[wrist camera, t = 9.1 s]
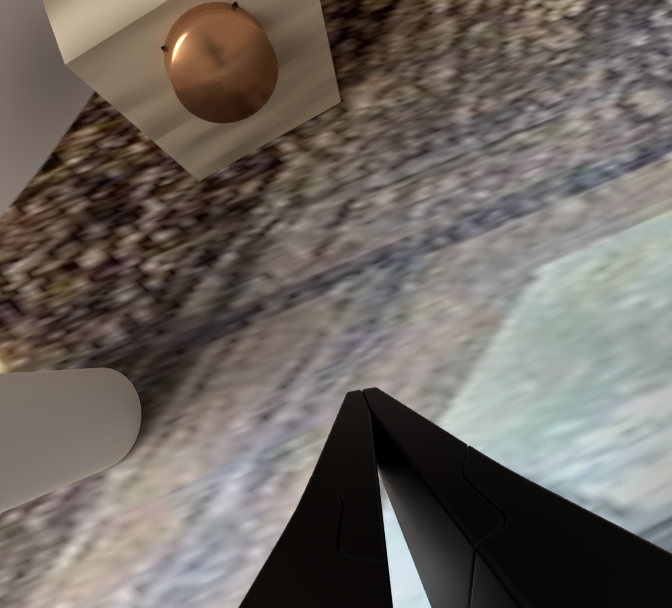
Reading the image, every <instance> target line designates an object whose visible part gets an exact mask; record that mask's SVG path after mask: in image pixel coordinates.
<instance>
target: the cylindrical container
mask: <svg viewBox="0 0 672 608" xmlns="http://www.w3.org/2000/svg"><path fill="white" fill-rule="evenodd" d="M140 425H141V405H140V399H139V397H138V394H137V391H136V389H135V388H134V386H133V384H132V383H131V382H130V381H129V380H128V378H127V377H125V376H124V375H123V374H121V373H120V372H118V371H116V370H113V369H110V368H104V367H103V368H86V369H70V370H53V371H37V372H21V373H4V374H0V513H2V512H4V511H7V510H9V509H11V508H14V507H16V506H19V505H21V504H23V503H26V502H28V501H31V500H33V499H35V498H38V497H40V496H42V495H45V494H47V493H50V492H52V491H54V490H57V489H59V488H62V487H64V486H66V485H69V484H71V483H74V482H76V481H78V480H81V479H83V478H85V477H88V476H90V475H93V474H95V473H97V472H100V471H102V470H105V469H107V468H109V467H111V466H113V465H115V464H117V463H118V462H119V461H121V460H122V459H123V458H124V457H125V456H126V455H127V454H128V453H129V451H130V450H131V448H132V447H133V445H134V443H135V442H136V439H137V436H138V434H139V430H140Z"/></svg>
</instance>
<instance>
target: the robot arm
mask: <svg viewBox="0 0 672 608" xmlns="http://www.w3.org/2000/svg"><path fill="white" fill-rule="evenodd" d="M378 471H379V474H380V476H381V479H382V481H383V484H384V487H385V489H386V492H387V494H388V497H389V499H390V502H391V505H392V507H393V510H394V512H395V515H396V517H397V520H398V523H399V525H400V528H401V530H402V533H403V535H404V538H405V541H406V543H407V546H408V548H409V551H410V553H411V556H412V559H413V561H414V564H415V566H416V569H417V572H418V574H419V577H420V579H421V582H422V584H423V587H424V590H425V592H426V595H427V597H428V600H429V602H430V605H431V608H672V553H670V552H668V551H666V550H664V549H662V548H660V547H658V546H656V545H654V544H652V543H651V542H649V541H647V540H645V539H643V538H641V537H639V536H637V535H635V534H633V533H631V532H629V531H627V530H625V529H623V528H621V527H619V526H617V525H616V524H614V523H612V522H610V521H608V520H606V519H604V518H602V517H600V516H598V515H596V514H594V513H592V512H590V511H588V510H586V509H584V508H583V507H581V506H579V505H577V504H575V503H573V502H571V501H569V500H567V499H565V498H563V497H561V496H559V495H557V494H555V493H553V492H551V491H550V490H548V489H546V488H544V487H542V486H540V485H538V484H536V483H534V482H532V481H530V480H528V479H526V478H525V477H523V476H521V475H519V474H517V473H515V472H513V471H512V470H510V469H508V468H506V467H504V466H503V465H501V464H499V463H498V462H496V461H494V460H493V459H491V458H489V457H487V456H486V455H484V454H482V453H481V452H479V451H478V450H476V449H475V448H473V447H471V446H468V445H467V444H466V443H464V442H462V441H461V440H459V439H458V438H456V437H455V436H453V435H451V434H450V433H448V432H447V431H445V430H443V429H442V428H440V427H439V426H437V425H435V424H434V423H432V422H431V421H429V420H428V419H426V418H424V417H423V416H421V415H420V414H418V413H416V412H415V411H413V410H412V409H410V408H408V407H407V406H405V405H404V404H402V403H401V402H399V401H397V400H396V399H394V398H393V397H391V396H389V395H388V394H386V393H385V392H383V391H381V390H380V389H378V388H376V387H373V388H368V389H363V391H361V390H356V391H350V392H348V393H347V394H346V396H345V398H344V401H343V403H342V406H341V408H340V410H339V413H338V415H337V417H336V420H335V422H334V424H333V427H332V429H331V431H330V434H329V436H328V438H327V441H326V443H325V445H324V448H323V450H322V452H321V455H320V457H319V460H318V462H317V464H316V467H315V469H314V471H313V474H312V476H311V477H310V480H309V482H308V484H307V487H306V489H305V491H304V493H303V495H302V497H301V500H300V502H299V504H298V506H297V508H296V510H295V512H294V514H293V515H292V517H291V519H290V521H289V523H288V524H287V526H286V528H285V530H284V532H283V533H282V535H281V537H280V538H279V540H278V542H277V543H276V545H275V547H274V548H273V550H272V552H271V554H270V555H269V557H268V559H267V560H266V562H265V564H264V565H263V567H262V569H261V570H260V572H259V574H258V576H257V577H256V579H255V581H254V582H253V584H252V586H251V587H250V589H249V591H248V592H247V594H246V596H245V598H244V599H243V601H242V603H241V604H240V606H239V608H393V603H392V594H391V585H390V576H389V567H388V558H387V549H386V540H385V531H384V522H383V513H382V504H381V495H380V486H379V477H378Z"/></svg>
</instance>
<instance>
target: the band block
mask: <svg viewBox="0 0 672 608" xmlns="http://www.w3.org/2000/svg"><path fill="white" fill-rule="evenodd" d="M209 2H225V3H230V4H233V5H236V6H239V7H241V8H243V9H244V10H246V11H247V12H249V13H250V14H251V15H252V16H254V17H255V18H256V20H257V21H258V22H259V23H260V25H261V26H262V28H263V29H264V31H265V33H266V35H267V37H268V39H269V41H270V43H271V45H272V47H273V49H274V51H275V53H276V56H277V61H278V79H277V84H276V87H275V90H274V92H273V94H272V96H271V97H270V99H269V100H268V102H267V103H266V104H265V105H264V106H263V107H262V108H261V109H260V110H259V111H258V112H256V113H255V114H253V115H252V116H250V117H248V118H246V119H244V120H241V121H238V122H234V123H224V124H221V123H212V122H208V121H205V120H202V119H200V118H198V117H196V116H195V115H193V114H192V113H190V112H189V111H188V110H187V109H186V108H185V107H184V106H183V105H182V103H181V102H180V101H179V99H178V97H177V95H176V93H175V91H174V88H173V86H172V84H171V81H170V79H169V77H168V74H167V72H166V68H165V64H164V46H165V41H166V38H167V35H168V33H169V31H170V29H171V27H172V26H173V24H174V23H175V22H176V20H177V19H178V18H179V17H180V16H181V15H182V14H184V13H185V12H186V11H188V10H189V9H191V8H193V7H195V6H197V5H200V4H203V3H209ZM43 3H44V6H45V9H46V12H47V15H48V17H49V20H50V23H51V26H52V29H53V31H54V34H55V37H56V40H57V43H58V46H59V49H60V52H61V54H62V57H63V60H64V63H65V65H66V66H67V67H69V68H70V69H71V70H72V71H73V72H74V73H75V74H77V75H78V76H79V77H80V78H81V79H82V80H84V81H85V82H86V83H87V84H88V85H89V86H90V87H92V88H93V89H94V90H95V91H96V92H97V93H98V94H100V95H101V96H102V97H103V98H104V99H105V100H106V101H108V102H109V103H110V104H111V105H112V106H113V107H115V108H116V109H117V110H118V111H119V112H120V113H121V114H123V115H124V116H125V117H126V118H127V119H128V120H129V121H131V122H132V123H133V124H134V125H135V126H136V127H138V128H139V129H140V130H141V131H142V132H143V133H144V134H146V135H147V136H148V137H149V138H150V139H151V140H152V141H154V142H155V143H156V144H157V145H158V146H159V147H160V148H162V149H163V150H164V151H165V152H166V153H167V154H169V155H170V156H171V157H172V158H173V159H174V160H175V161H177V162H178V163H179V164H180V165H181V166H182V167H183V168H185V169H186V170H187V171H188V172H189V173H190V174H192V175H193V176H194V177H195V178H196V179H197V180H198V181H201V180H203V179H204V178H206V177H208V176H210V175H212V174H213V173H215V172H217V171H219V170H221V169H222V168H224V167H226V166H228V165H229V164H231V163H233V162H235V161H237V160H238V159H240V158H242V157H244V156H246V155H247V154H249V153H251V152H253V151H255V150H256V149H258V148H260V147H262V146H263V145H265V144H267V143H269V142H271V141H272V140H274V139H276V138H278V137H280V136H281V135H283V134H285V133H287V132H289V131H290V130H292V129H294V128H296V127H297V126H299V125H301V124H303V123H305V122H306V121H308V120H310V119H312V118H314V117H315V116H317V115H319V114H321V113H322V112H324V111H326V110H328V109H330V108H331V107H333V106H335V105H337V104H339V103H340V102H341V100H340V95H339V90H338V86H337V81H336V76H335V71H334V66H333V62H332V57H331V52H330V47H329V42H328V38H327V33H326V28H325V23H324V18H323V13H322V9H321V4H320V0H43Z"/></svg>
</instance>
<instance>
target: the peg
mask: <svg viewBox="0 0 672 608" xmlns="http://www.w3.org/2000/svg"><path fill="white" fill-rule="evenodd" d="M164 64H165V68H166V72H167V74H168V77H169V79H170V81H171V84H172V86H173V88H174V91H175V93H176V95H177V97H178V99H179V101H180V102H181V103H182V105H183V106H184V107H185V108H186V109H187V110H188V111H189V112H190V113H192V114H193V115H195V116H196V117H198V118H200V119H202V120H205V121H208V122H212V123H221V124H224V123H234V122H238V121H241V120H244V119H246V118H248V117H250V116H252V115H253V114H255V113H256V112H258V111H259V110H260V109H261V108H262V107H263V106H264V105H265V104H266V103H267V102H268V100H269V99H270V97H271V96H272V94H273V92H274V90H275V87H276V84H277V79H278V61H277V56H276V53H275V51H274V49H273V47H272V45H271V43H270V41H269V39H268V37H267V35H266V33H265V31H264V29H263V28H262V26H261V25H260V23H259V22H258V21H257V20H256V18H255V17H254V16H252V15H251V14H250V13H249V12H247V11H246V10H244V9H243V8H241V7H239V6H236V5H233V4H230V3H225V2H209V3H203V4H200V5H197V6H195V7H193V8H191V9H189V10H188V11H186V12H185V13H184V14H182V15H181V16H180V17H179V18H178V19H177V20H176V22H175V23H174V24H173V26H172V27H171V29H170V31H169V33H168V35H167V38H166V41H165V46H164Z"/></svg>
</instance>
